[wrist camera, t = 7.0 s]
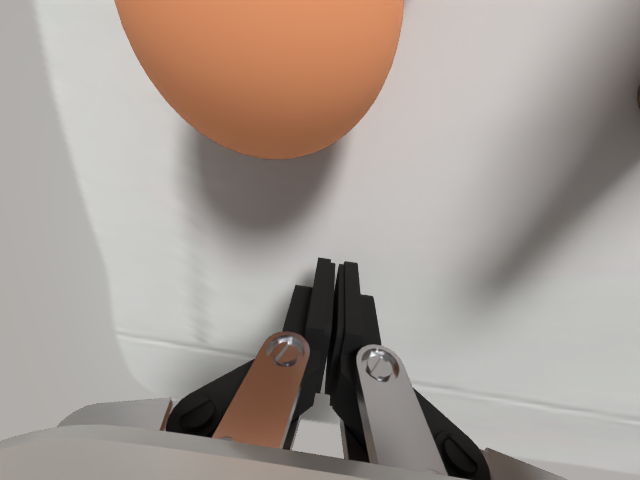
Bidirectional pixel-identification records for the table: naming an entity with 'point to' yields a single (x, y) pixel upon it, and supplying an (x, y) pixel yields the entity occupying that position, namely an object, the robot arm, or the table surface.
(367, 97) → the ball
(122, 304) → the table surface
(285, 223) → the table surface
